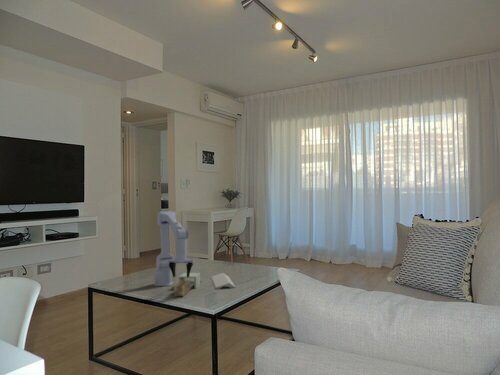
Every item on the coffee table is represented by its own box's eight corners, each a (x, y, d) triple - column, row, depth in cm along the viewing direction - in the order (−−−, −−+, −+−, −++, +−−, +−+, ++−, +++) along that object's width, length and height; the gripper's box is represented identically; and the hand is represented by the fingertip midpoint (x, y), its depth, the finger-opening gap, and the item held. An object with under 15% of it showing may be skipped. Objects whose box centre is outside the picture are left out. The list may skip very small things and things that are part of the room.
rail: (175, 297, 184) (175, 297, 184) (190, 283, 214) (190, 283, 214) (181, 297, 184) (181, 297, 184) (195, 283, 214) (195, 283, 214)
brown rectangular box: (174, 295, 185) (174, 286, 185) (180, 289, 197) (180, 280, 198) (183, 296, 185) (183, 286, 185) (189, 289, 197) (189, 280, 197)
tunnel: (179, 288, 202) (178, 276, 203) (183, 284, 212) (183, 272, 212) (196, 288, 201) (196, 276, 202) (200, 284, 211) (200, 272, 212)
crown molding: (210, 278, 228) (210, 273, 228) (229, 277, 231) (228, 272, 231) (215, 290, 200) (215, 283, 200) (236, 288, 202) (236, 282, 202)
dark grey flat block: (186, 283, 214) (186, 283, 214) (188, 281, 219) (188, 281, 219) (199, 283, 213) (199, 283, 213) (201, 281, 218) (201, 281, 218)
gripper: (165, 252, 187) (165, 278, 187) (192, 252, 186) (192, 278, 186) (169, 250, 194) (169, 275, 194) (195, 250, 193) (195, 275, 193)
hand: (181, 276), depth 190 cm, fingers open, 7 cm apart
